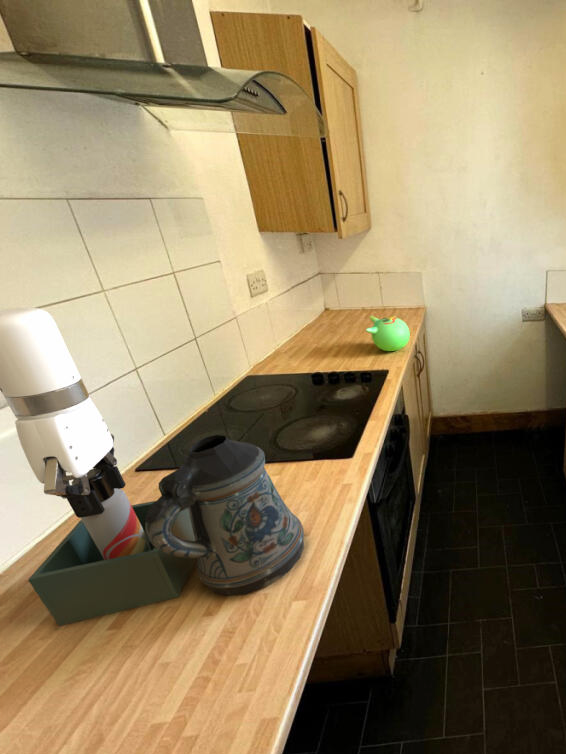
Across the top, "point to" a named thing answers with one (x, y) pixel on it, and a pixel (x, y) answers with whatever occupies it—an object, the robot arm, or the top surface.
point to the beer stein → (227, 518)
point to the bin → (110, 574)
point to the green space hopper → (389, 333)
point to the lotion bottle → (114, 520)
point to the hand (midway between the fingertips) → (102, 500)
